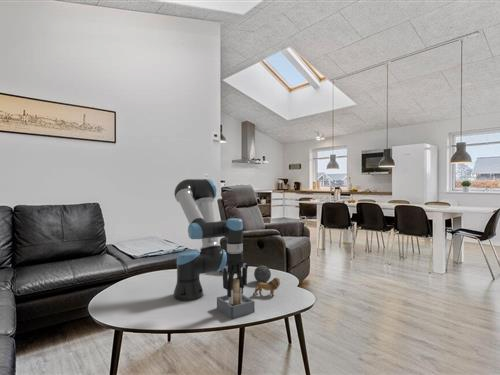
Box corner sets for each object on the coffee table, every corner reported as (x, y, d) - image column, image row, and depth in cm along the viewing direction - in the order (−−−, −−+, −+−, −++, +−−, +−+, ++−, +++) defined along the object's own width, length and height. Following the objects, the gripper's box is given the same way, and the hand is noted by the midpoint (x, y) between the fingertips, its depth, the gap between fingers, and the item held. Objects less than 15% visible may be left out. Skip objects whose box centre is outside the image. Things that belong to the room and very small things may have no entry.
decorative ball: (256, 285, 170) (256, 268, 170) (252, 280, 180) (252, 264, 180) (273, 284, 172) (272, 267, 172) (268, 279, 182) (267, 263, 182)
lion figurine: (278, 292, 159) (278, 276, 159) (281, 296, 153) (281, 279, 153) (251, 294, 157) (251, 277, 157) (253, 297, 152) (253, 280, 151)
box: (216, 307, 139) (216, 297, 139) (238, 302, 146) (238, 292, 146) (231, 318, 127) (231, 307, 127) (254, 312, 134) (254, 301, 134)
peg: (229, 304, 137) (229, 278, 137) (236, 302, 139) (236, 277, 139) (233, 307, 134) (233, 280, 134) (241, 305, 136) (241, 279, 136)
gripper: (222, 256, 129) (223, 309, 129) (254, 251, 138) (254, 300, 138) (214, 253, 135) (215, 303, 135) (245, 248, 144) (246, 295, 144)
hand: (235, 302), depth 137 cm, fingers closed on peg, 4 cm apart
